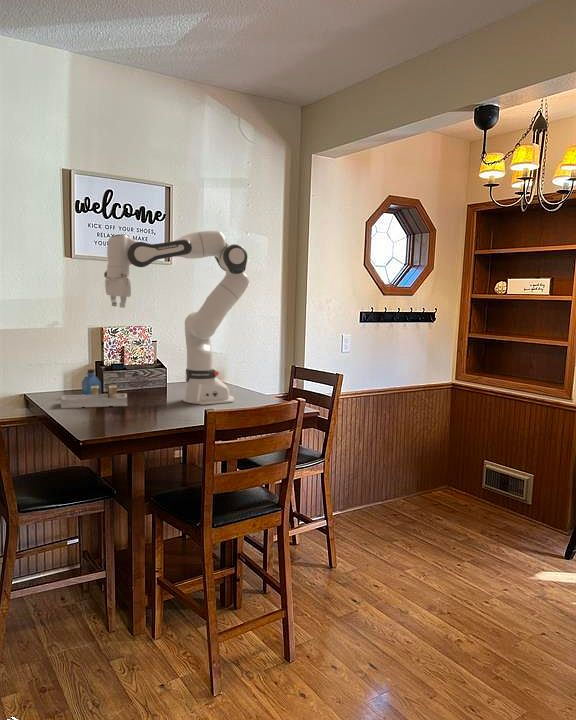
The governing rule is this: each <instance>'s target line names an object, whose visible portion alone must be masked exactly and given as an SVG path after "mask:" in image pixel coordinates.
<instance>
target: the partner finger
mask: <svg viewBox="0 0 576 720" xmlns="http://www.w3.org/2000/svg"><path fill="white" fill-rule="evenodd" d="M117 389H118V388H117V384H116V385H109V386H108V387H107V394H108V398H114V397H117V394H118V393H117Z"/></svg>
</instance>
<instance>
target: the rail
mask: <svg viewBox="0 0 576 720" xmlns="http://www.w3.org/2000/svg"><path fill="white" fill-rule="evenodd" d="M109 406H113V407H128V394H127V393H117V397H114V398H108V393H101V394H90V395H82V394H64V395H62V396H61V398H60V409H80V408H81V409H82V407H85V408H103V407H105V408H106V407H107V408H108V407H109ZM109 408H110V407H109Z"/></svg>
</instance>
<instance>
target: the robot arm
mask: <svg viewBox="0 0 576 720" xmlns="http://www.w3.org/2000/svg"><path fill="white" fill-rule="evenodd" d="M106 248H107V249H106V250H107V251H106V253H107V254H106V255H107V259H108V260H107V265H106V267H107V269H106V270H105V271H104V273H103V274H104V275H103V277H104V278H105V280H104V287H105V293H106V295H107V296H109V297H110V302H111V307H117V306H118V302H117V297H119V298H120V303H119V308H125V307H126V302H127V298H130V297H131V295H132V287H131V284H132V282H131V280H130V265H132V266H134V267H137V268H145V267H148V266H149V265H151V264H152V263H153V262H155V261H158V260H163V259H168V258H175V257H176V258H177V257H178V258H179V257H180V258H184V259H190V260H191V259H192V260H193V259H202V258H207V257H214V259H215V260H216V262H217V264H218V266H219V267H220V268H221V270H222V271H225V275H224V277H223V278H222V279H221V281H220V282H219V283H218V284H217V285H216V287H215V288H214V289H213V290H212V291H211V293H209V294H208V296H207V297H206V299H205V301H204V302H203V304H202V305H201V307H200V308H199V310H198V311H193V312H191V313H190V314H188V315H187V316H186V318H185V319H184V333H185V334H184V335H185V336H184V337H185V345H186V369H185V382H186V383H185V389H184V390H185V391H184V395H183V399H182V400H183V402H185V403H188V404H189V403H190V404H196V405H215V404H225V403H226V404H227V403H233V402H235V396H233V395H230V389H229V387H228V385H227V384H226V383H225V382H223V381H222V380H221V379H220V378H218V376H220V375H219V374H220V372H219V371H218V370H216V369H214V368H213V349H212V343H211V337H213V335H215V333H216V331H217V329H218V327H219V326H220V325H221V323H222V321H223V320H224V318H225V317H226V315H227V314H228V312H230V310H231V309H232V308H233V307H234V306H235V304H236V303H237V302H238V301H239V300H240V298H241V297H242V296H243V294H244V293H245V292H246V289H247V288H248V286H249V284H250V278H249V277H248V275H247V274H246V273H245V271H246V268H247V262H248V253H247V250H246V249H245V247H243V246H242V245H240V244H230V245H229V244H228V243H227V241H226V236H225V235H224V233H223V232H221V231H219V230H204V231H203V230H202V231H197V232H191V233H188V234H186V235H182V236H181V237H180V238H178V239H176V240H172V241H166V242H161V243H153V244H152V243H147V242H144V241H136V240H135V239H133V238H131V237H129V236H128V235H127V234H124V233H123V234H115V235H112V236H110V238H108V241H107V247H106Z"/></svg>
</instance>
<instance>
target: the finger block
mask: <svg viewBox="0 0 576 720" xmlns="http://www.w3.org/2000/svg"><path fill="white" fill-rule="evenodd" d="M91 394H100V387H99V386H91Z"/></svg>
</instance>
